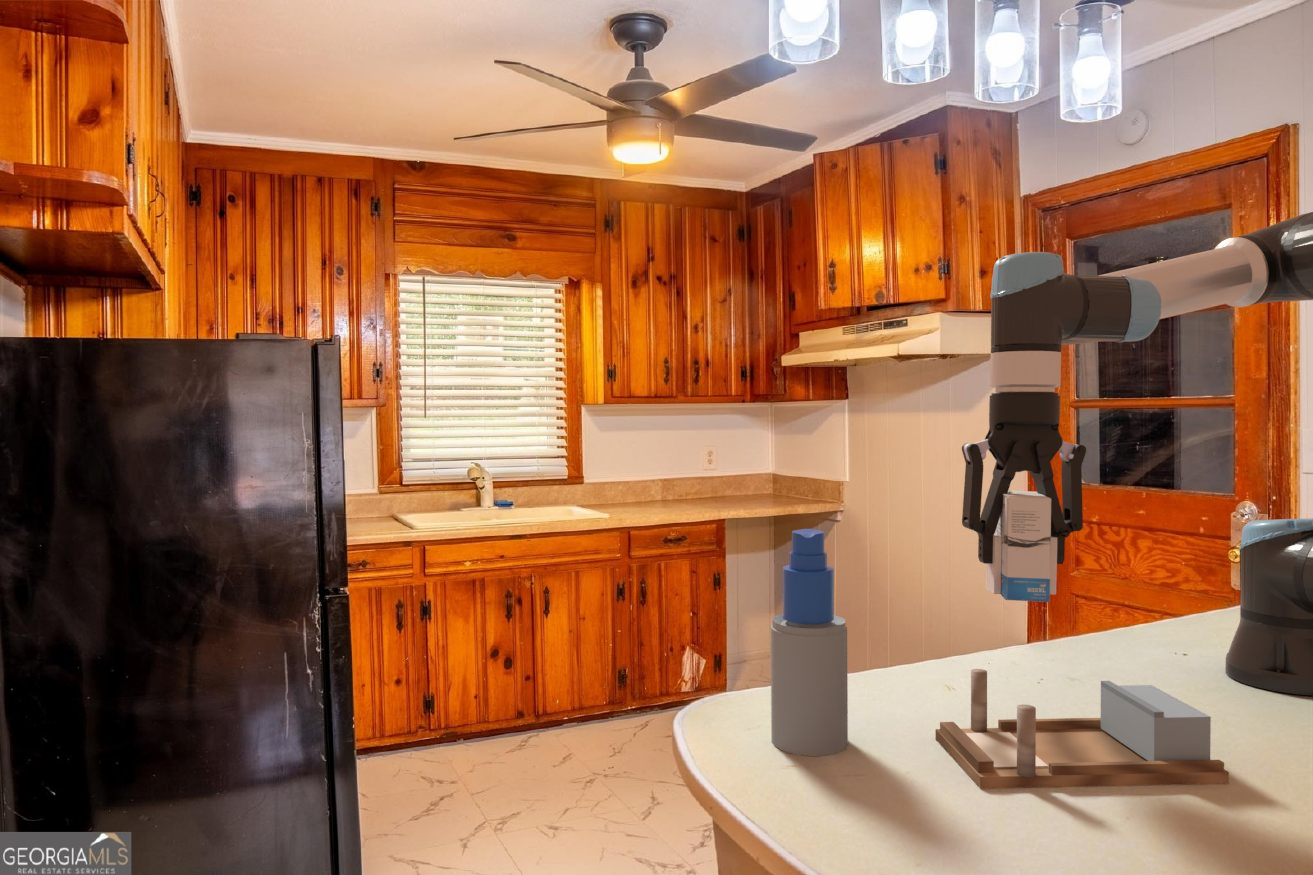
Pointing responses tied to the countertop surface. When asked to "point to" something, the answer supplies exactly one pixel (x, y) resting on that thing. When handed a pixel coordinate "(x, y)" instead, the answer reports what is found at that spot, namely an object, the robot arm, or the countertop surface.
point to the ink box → (1025, 546)
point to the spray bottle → (809, 656)
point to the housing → (1154, 723)
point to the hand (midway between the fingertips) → (1020, 591)
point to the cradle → (1057, 752)
